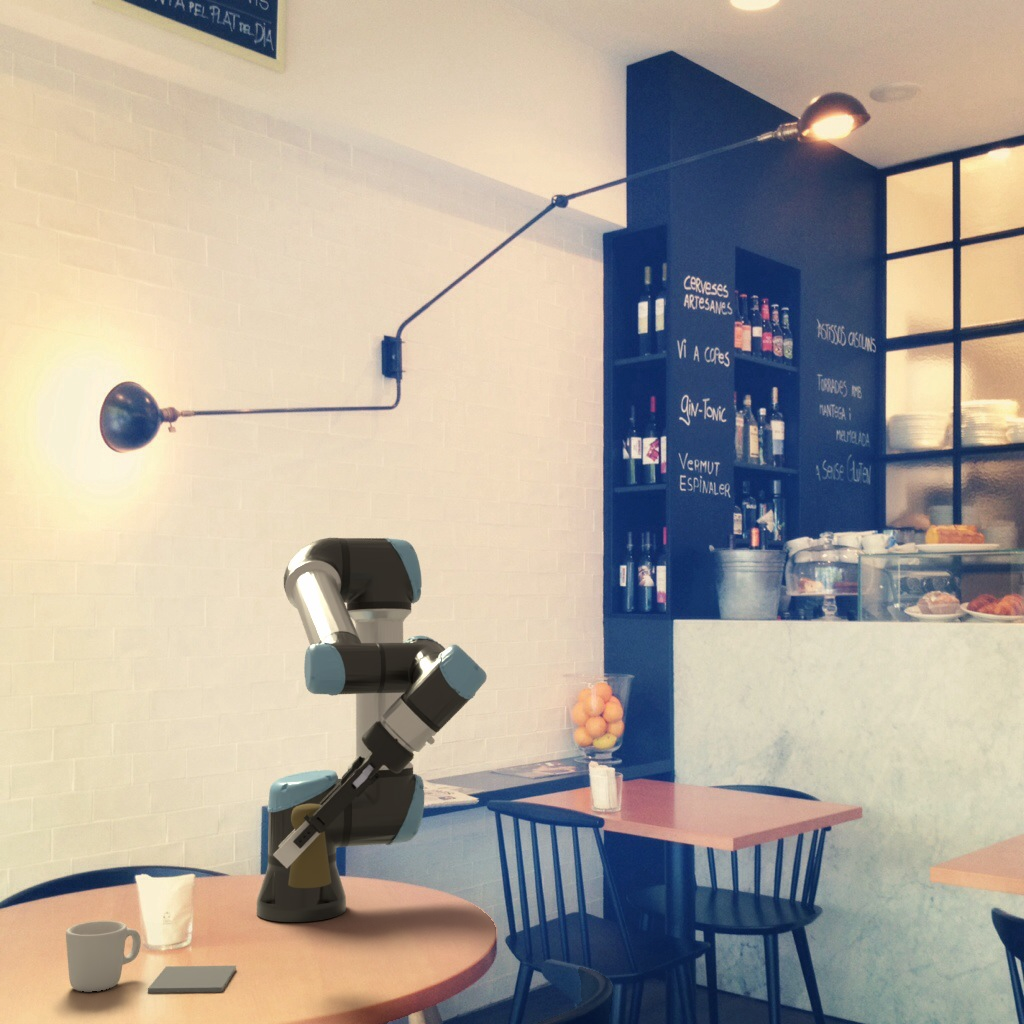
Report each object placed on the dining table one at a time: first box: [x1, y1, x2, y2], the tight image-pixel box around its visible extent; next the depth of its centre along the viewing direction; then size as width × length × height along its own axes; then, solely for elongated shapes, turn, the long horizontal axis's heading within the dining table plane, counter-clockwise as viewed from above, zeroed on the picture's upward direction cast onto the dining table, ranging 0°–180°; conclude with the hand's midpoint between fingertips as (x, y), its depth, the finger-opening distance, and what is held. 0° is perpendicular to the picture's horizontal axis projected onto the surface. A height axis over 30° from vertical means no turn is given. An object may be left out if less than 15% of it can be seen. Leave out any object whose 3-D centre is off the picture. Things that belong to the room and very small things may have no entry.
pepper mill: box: [288, 804, 331, 888], centre depth 171 cm, size 6×6×11 cm
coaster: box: [147, 965, 237, 994], centre depth 168 cm, size 10×10×1 cm
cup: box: [65, 920, 141, 993], centre depth 167 cm, size 11×8×8 cm
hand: (283, 856), depth 170 cm, fingers closed on pepper mill, 5 cm apart
